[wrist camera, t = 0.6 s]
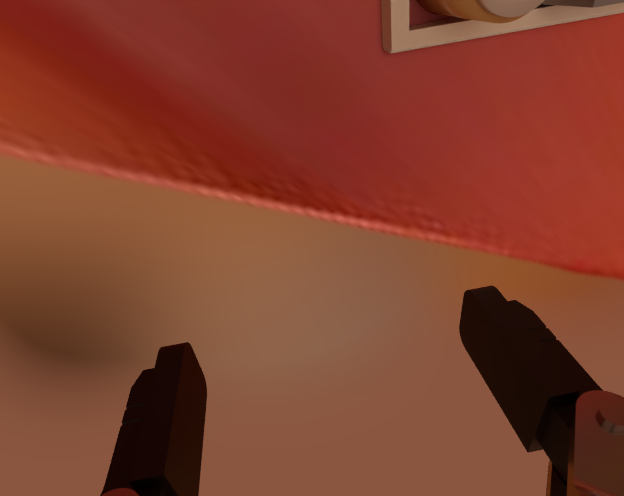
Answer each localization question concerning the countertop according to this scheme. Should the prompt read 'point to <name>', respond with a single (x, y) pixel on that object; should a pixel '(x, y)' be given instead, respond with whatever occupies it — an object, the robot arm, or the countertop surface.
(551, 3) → the pusher
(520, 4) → the jar
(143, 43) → the countertop surface
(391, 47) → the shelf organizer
